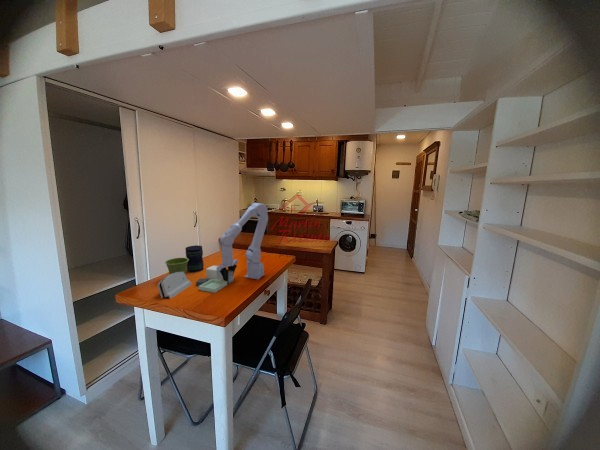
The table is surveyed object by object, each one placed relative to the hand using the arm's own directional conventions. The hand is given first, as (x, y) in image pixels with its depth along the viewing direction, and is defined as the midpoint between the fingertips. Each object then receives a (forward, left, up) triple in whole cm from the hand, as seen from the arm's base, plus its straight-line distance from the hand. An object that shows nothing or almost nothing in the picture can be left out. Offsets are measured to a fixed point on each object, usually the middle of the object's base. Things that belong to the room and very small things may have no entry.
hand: (228, 278), depth 126 cm
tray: (+3, +9, -2) cm, 10 cm away
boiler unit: (+9, 0, -2) cm, 9 cm away
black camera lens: (+31, -8, -2) cm, 32 cm away
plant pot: (+29, +7, -2) cm, 30 cm away
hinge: (+19, +18, -2) cm, 27 cm away
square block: (+11, +7, -2) cm, 14 cm away
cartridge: (0, 0, -2) cm, 2 cm away
